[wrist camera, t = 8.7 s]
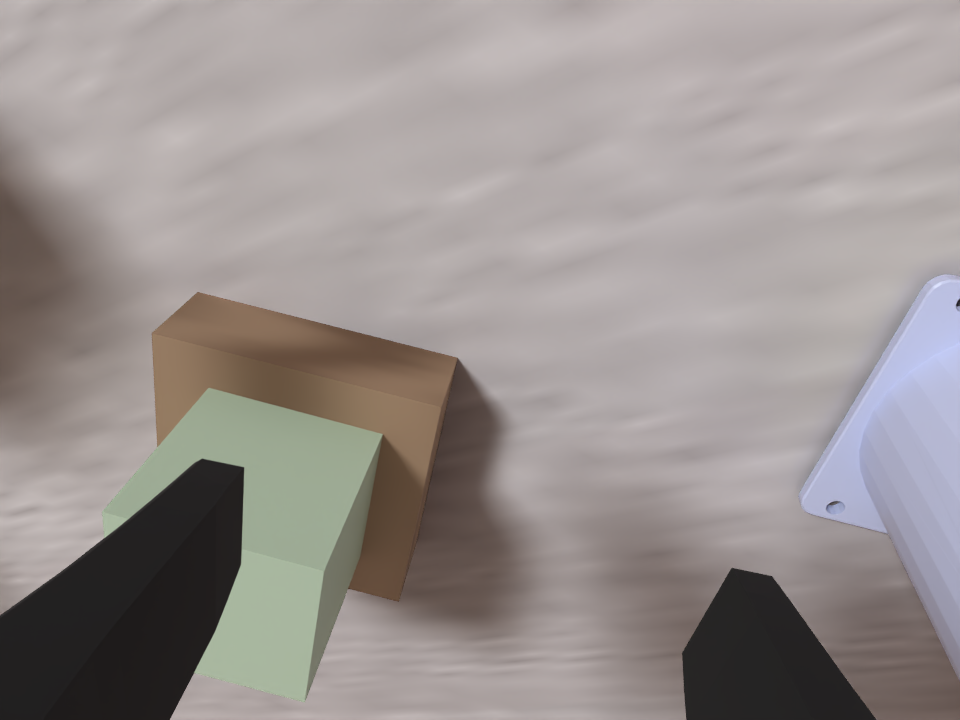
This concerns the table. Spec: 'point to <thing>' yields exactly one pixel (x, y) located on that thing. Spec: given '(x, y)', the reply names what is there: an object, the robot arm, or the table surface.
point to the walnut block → (319, 403)
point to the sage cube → (273, 530)
